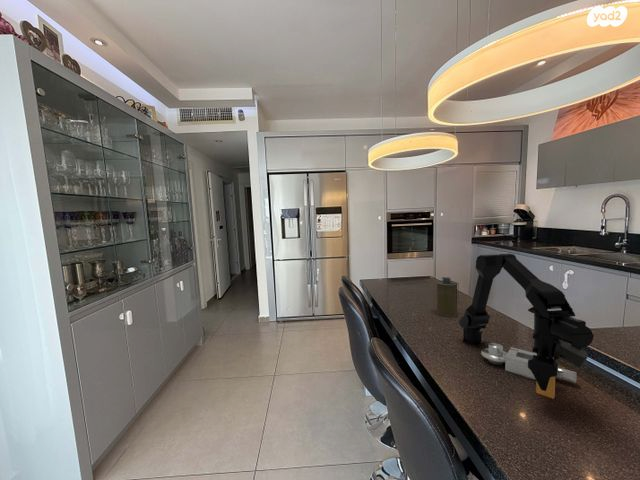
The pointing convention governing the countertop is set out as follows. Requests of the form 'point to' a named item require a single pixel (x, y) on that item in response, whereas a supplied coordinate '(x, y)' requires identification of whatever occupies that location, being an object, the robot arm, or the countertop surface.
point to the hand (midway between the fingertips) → (545, 382)
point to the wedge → (549, 391)
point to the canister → (447, 297)
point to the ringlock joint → (518, 361)
